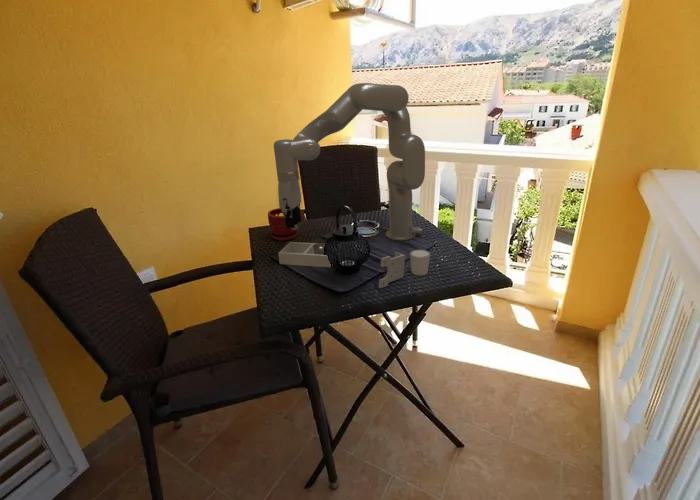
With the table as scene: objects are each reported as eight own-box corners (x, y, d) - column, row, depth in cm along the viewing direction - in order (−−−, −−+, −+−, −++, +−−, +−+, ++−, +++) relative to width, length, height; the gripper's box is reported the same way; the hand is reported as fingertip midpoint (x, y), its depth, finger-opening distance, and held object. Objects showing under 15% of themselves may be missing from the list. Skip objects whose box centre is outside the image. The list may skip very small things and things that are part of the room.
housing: (338, 255, 145) (337, 240, 143) (330, 267, 136) (328, 252, 133) (291, 252, 151) (289, 238, 148) (279, 263, 141) (277, 249, 138)
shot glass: (406, 269, 131) (406, 251, 128) (423, 265, 133) (423, 247, 130) (415, 278, 125) (416, 259, 122) (433, 273, 127) (434, 255, 124)
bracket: (393, 276, 129) (395, 248, 126) (402, 280, 126) (405, 252, 123) (370, 283, 122) (372, 255, 119) (380, 288, 119) (382, 258, 116)
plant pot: (280, 245, 158) (276, 218, 153) (265, 237, 167) (261, 211, 163) (306, 236, 165) (303, 210, 161) (290, 229, 175) (287, 205, 170)
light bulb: (290, 227, 143) (287, 202, 139) (304, 228, 141) (302, 202, 137) (284, 232, 138) (280, 206, 134) (298, 233, 136) (295, 207, 132)
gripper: (288, 171, 140) (293, 216, 147) (267, 181, 125) (274, 232, 132) (306, 171, 138) (311, 217, 145) (288, 182, 123) (294, 233, 130)
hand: (293, 224), depth 139 cm, fingers closed on light bulb, 5 cm apart
